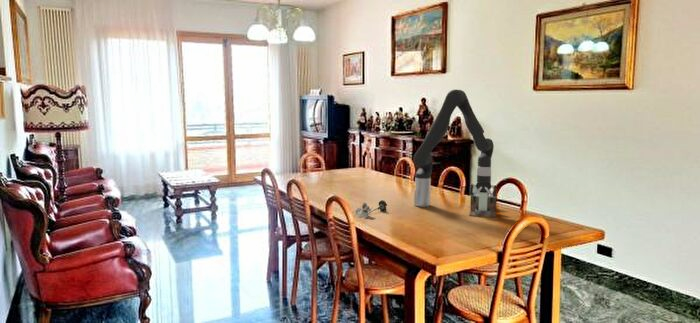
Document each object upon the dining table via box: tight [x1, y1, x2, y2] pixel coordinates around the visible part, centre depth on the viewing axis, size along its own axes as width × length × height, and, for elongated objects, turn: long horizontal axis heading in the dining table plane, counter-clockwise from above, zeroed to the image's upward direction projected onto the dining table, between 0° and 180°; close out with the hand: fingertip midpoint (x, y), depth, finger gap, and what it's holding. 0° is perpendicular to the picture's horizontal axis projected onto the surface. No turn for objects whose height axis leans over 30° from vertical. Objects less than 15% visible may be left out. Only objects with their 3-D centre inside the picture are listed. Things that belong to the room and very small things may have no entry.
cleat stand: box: [468, 195, 497, 218], centre depth 266 cm, size 14×11×10 cm
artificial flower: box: [354, 199, 388, 219], centre depth 268 cm, size 9×22×10 cm, turn 133°
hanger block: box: [478, 192, 488, 211], centre depth 266 cm, size 4×6×12 cm
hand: (482, 202), depth 266 cm, fingers open, 8 cm apart
